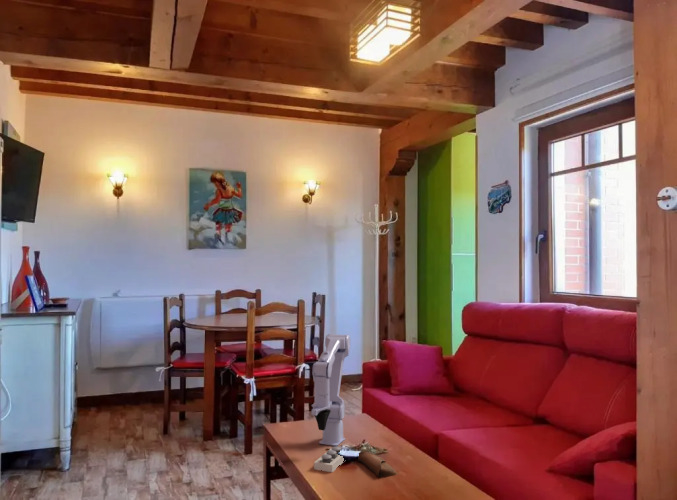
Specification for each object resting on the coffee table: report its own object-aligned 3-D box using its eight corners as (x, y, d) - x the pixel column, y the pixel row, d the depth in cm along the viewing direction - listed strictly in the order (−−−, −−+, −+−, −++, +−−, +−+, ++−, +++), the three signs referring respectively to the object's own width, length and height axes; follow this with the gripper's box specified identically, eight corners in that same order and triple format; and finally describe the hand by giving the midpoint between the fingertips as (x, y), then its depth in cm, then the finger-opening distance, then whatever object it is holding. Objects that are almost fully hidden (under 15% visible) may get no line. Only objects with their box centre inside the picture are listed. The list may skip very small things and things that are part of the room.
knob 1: (324, 463, 195) (324, 453, 196) (333, 465, 194) (333, 455, 194) (319, 467, 192) (319, 457, 192) (329, 468, 191) (329, 458, 191)
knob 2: (333, 455, 204) (333, 445, 204) (342, 456, 202) (342, 447, 202) (329, 458, 200) (329, 449, 201) (338, 460, 199) (338, 450, 199)
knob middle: (328, 459, 200) (328, 449, 200) (338, 461, 198) (338, 451, 198) (325, 463, 196) (325, 453, 196) (334, 464, 195) (334, 454, 195)
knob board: (330, 455, 206) (330, 448, 206) (348, 457, 203) (348, 451, 203) (314, 469, 192) (314, 462, 192) (332, 472, 189) (332, 465, 189)
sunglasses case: (400, 474, 187) (392, 459, 186) (385, 487, 185) (376, 472, 184) (376, 456, 204) (368, 442, 203) (362, 469, 201) (353, 454, 200)
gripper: (320, 388, 215) (320, 423, 215) (304, 397, 202) (304, 433, 201) (336, 390, 212) (336, 425, 212) (321, 399, 199) (321, 436, 199)
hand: (321, 429), depth 207 cm, fingers closed
